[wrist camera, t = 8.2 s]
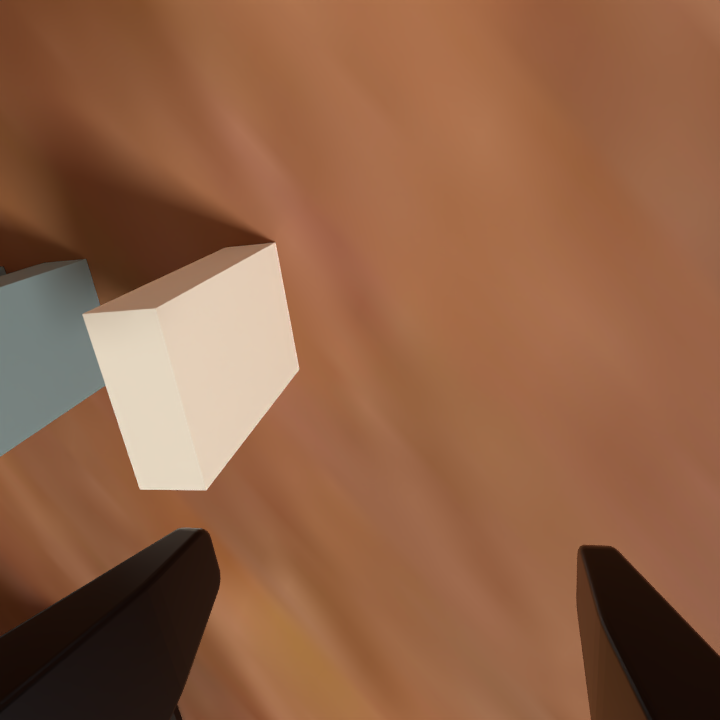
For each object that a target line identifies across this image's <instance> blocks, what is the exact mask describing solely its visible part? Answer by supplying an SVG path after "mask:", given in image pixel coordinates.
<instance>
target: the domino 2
mask: <svg viewBox="0 0 720 720" xmlns="http://www.w3.org/2000/svg"><path fill="white" fill-rule="evenodd" d="M82 315H83V318H84V321H85V324H86V327H87V330H88V333H89V337H90V340H91V343H92V346H93V349H94V352H95V355H96V358H97V361H98V364H99V367H100V370H101V373H102V376H103V379H104V382H105V385H106V388H107V391H108V394H109V397H110V400H111V403H112V406H113V409H114V412H115V415H116V418H117V421H118V424H119V427H120V430H121V434H122V437H123V440H124V443H125V446H126V449H127V452H128V455H129V458H130V461H131V464H132V467H133V470H134V473H135V476H136V479H137V482H138V485H139V488H140V489H145V490H207V489H208V488H209V486H210V485H211V484H212V482H213V481H214V480H215V478H216V477H217V476H218V475H219V473H220V472H221V471H222V469H223V468H224V467H225V465H226V464H227V463H228V462H229V460H230V459H231V458H232V456H233V455H234V454H235V452H236V451H237V450H238V449H239V447H240V446H241V445H242V443H243V442H244V441H245V439H246V438H247V437H248V436H249V434H250V433H251V432H252V430H253V429H254V428H255V426H256V425H257V424H258V423H259V421H260V420H261V419H262V417H263V416H264V415H265V413H266V412H267V411H268V410H269V408H270V407H271V406H272V404H273V403H274V402H275V400H276V399H277V398H278V397H279V395H280V394H281V393H282V391H283V390H284V389H285V387H286V386H287V385H288V384H289V382H290V381H291V380H292V378H293V377H294V376H295V374H296V373H297V372H298V371H299V365H298V360H297V354H296V349H295V344H294V338H293V333H292V328H291V322H290V317H289V312H288V307H287V301H286V296H285V291H284V285H283V280H282V275H281V269H280V264H279V259H278V253H277V248H276V243H275V242H274V243H264V244H255V245H245V246H235V247H226V248H223V249H221V250H219V251H217V252H214V253H212V254H210V255H208V256H206V257H204V258H201V259H199V260H197V261H195V262H193V263H191V264H189V265H186V266H184V267H182V268H180V269H178V270H176V271H174V272H171V273H169V274H167V275H165V276H163V277H161V278H158V279H156V280H154V281H152V282H150V283H148V284H146V285H143V286H141V287H139V288H137V289H135V290H133V291H131V292H128V293H126V294H124V295H122V296H120V297H118V298H115V299H113V300H111V301H109V302H107V303H105V304H103V305H100V306H98V307H96V308H94V309H92V310H90V311H88V312H85V313H83V314H82Z"/></svg>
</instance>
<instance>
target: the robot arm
mask: <svg viewBox="0 0 720 720" xmlns="http://www.w3.org/2000/svg"><path fill="white" fill-rule="evenodd" d="M219 586H220V569H219V566H218V562H217V559H216V555H215V551H214V548H213V544H212V540H211V537H210V534H209V533H208V532H207V531H206V530H205V529H202V528H179V529H177V530H175V531H173V532H172V533H170V534H168V535H167V536H165V537H163V538H162V539H160V540H159V541H157V542H155V543H154V544H152V545H150V546H149V547H147V548H145V549H144V550H142V551H140V552H139V553H137V554H136V555H134V556H132V557H131V558H129V559H127V560H126V561H124V562H122V563H121V564H119V565H117V566H116V567H114V568H112V569H111V570H109V571H108V572H106V573H104V574H103V575H101V576H99V577H98V578H96V579H94V580H93V581H91V582H89V583H88V584H86V585H85V586H83V587H81V588H80V589H78V590H76V591H75V592H73V593H71V594H70V595H68V596H66V597H65V598H63V599H61V600H60V601H58V602H57V603H55V604H53V605H52V606H50V607H48V608H47V609H45V610H43V611H42V612H40V613H38V614H37V615H35V616H34V617H32V618H30V619H29V620H27V621H25V622H24V623H22V624H20V625H19V626H17V627H15V628H14V629H12V630H10V631H9V632H7V633H6V634H4V635H2V636H1V637H0V720H182V718H181V715H180V712H179V710H178V707H177V703H178V701H179V699H180V696H181V694H182V692H183V689H184V686H185V684H186V681H187V679H188V676H189V673H190V670H191V667H192V665H193V662H194V659H195V656H196V653H197V650H198V647H199V645H200V642H201V639H202V636H203V633H204V630H205V627H206V624H207V622H208V619H209V616H210V613H211V610H212V607H213V604H214V601H215V599H216V596H217V593H218V590H219ZM576 599H577V613H578V621H579V629H580V637H581V645H582V652H583V660H584V668H585V676H586V684H587V691H588V699H589V707H590V715H591V720H720V656H719V655H718V654H717V653H716V652H715V651H714V650H713V649H712V648H711V647H710V646H709V644H708V643H707V642H706V641H705V640H704V639H703V638H702V637H701V636H700V635H699V634H698V633H697V632H696V631H695V630H694V629H693V628H692V627H691V626H690V625H689V624H688V623H687V622H686V621H685V620H684V619H683V618H682V616H681V615H680V614H679V613H678V612H677V611H676V610H675V609H674V608H673V607H672V606H671V605H670V604H669V603H668V602H667V601H666V600H665V599H664V598H663V597H662V596H661V595H660V594H659V593H658V592H657V591H656V590H655V588H654V587H653V586H652V585H651V584H650V583H649V582H648V581H647V580H646V579H645V578H644V577H643V576H642V575H641V574H640V573H639V572H638V571H637V570H636V569H635V568H634V567H633V566H632V565H631V564H630V563H629V562H628V561H627V559H626V558H625V557H624V556H623V555H622V554H621V553H620V552H619V551H618V550H617V549H615V548H614V547H611V546H600V545H582V546H580V548H579V549H578V556H577V593H576Z"/></svg>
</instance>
